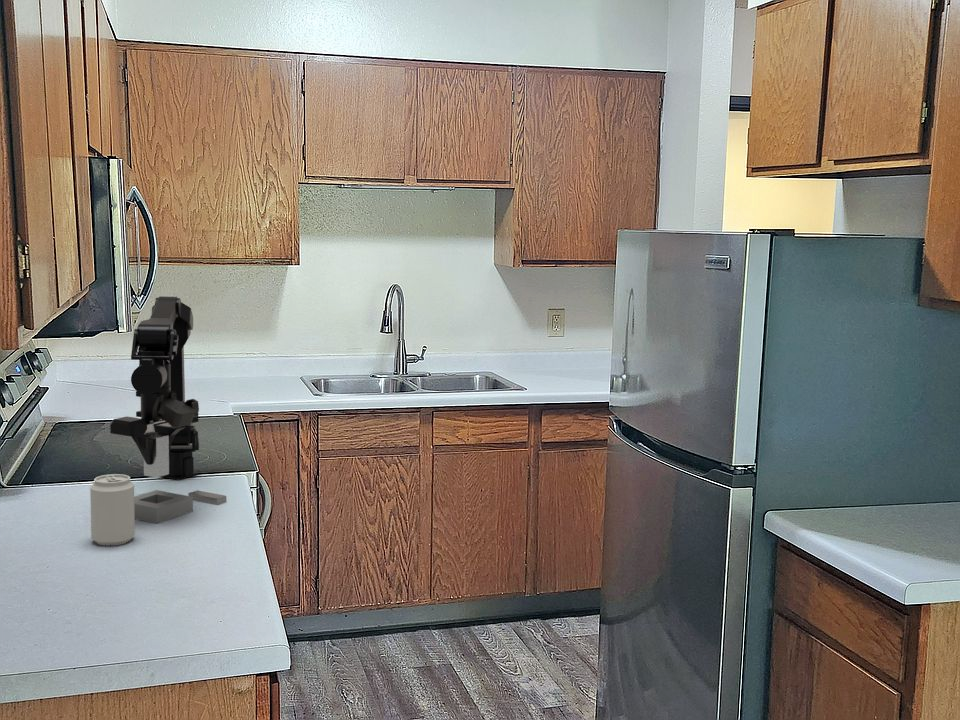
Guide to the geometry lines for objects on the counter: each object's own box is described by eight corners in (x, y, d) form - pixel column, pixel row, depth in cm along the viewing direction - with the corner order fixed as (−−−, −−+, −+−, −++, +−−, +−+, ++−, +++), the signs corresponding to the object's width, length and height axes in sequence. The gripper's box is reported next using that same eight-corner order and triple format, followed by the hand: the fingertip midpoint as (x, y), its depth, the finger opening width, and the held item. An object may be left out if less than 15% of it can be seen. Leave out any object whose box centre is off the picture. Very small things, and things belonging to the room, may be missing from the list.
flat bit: (188, 501, 206) (188, 493, 206) (197, 498, 208) (197, 490, 208) (217, 506, 202) (217, 498, 202) (226, 503, 205) (226, 495, 205)
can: (99, 549, 172) (98, 484, 171) (85, 538, 178) (84, 475, 176) (140, 542, 177) (140, 478, 175) (126, 532, 183) (125, 470, 181)
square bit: (143, 475, 193) (143, 436, 192) (156, 471, 196) (155, 433, 195) (156, 477, 192) (156, 438, 191) (169, 474, 195) (168, 435, 194)
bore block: (119, 515, 193) (119, 500, 192) (156, 503, 202) (156, 490, 201) (157, 523, 188) (157, 508, 188) (193, 511, 197) (193, 496, 197)
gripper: (151, 396, 180) (152, 478, 182) (218, 384, 197) (219, 458, 199) (107, 390, 185) (108, 470, 187) (177, 379, 202) (177, 452, 204)
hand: (156, 462), depth 194 cm, fingers closed on square bit, 3 cm apart
